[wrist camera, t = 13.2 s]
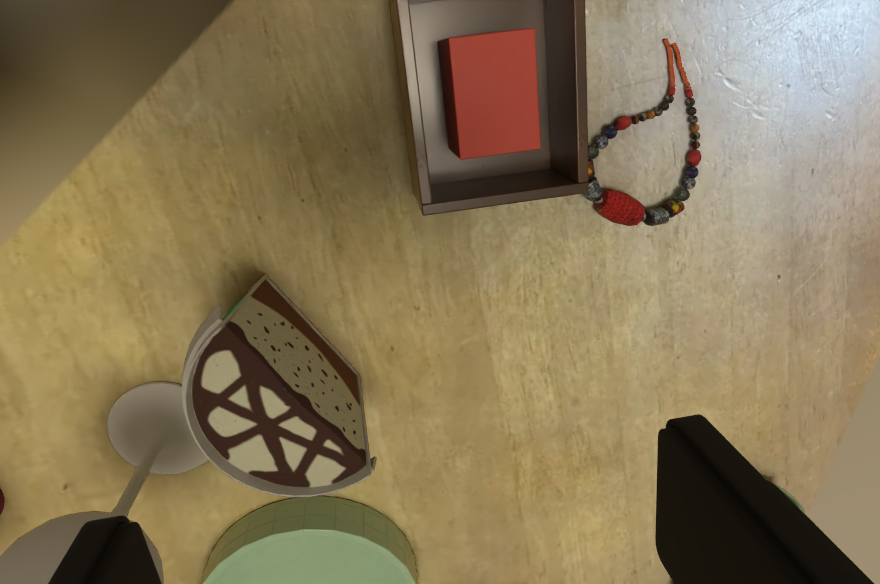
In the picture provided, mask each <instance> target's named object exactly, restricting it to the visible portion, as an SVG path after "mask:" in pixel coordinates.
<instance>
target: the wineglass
mask: <svg viewBox="0 0 880 584" xmlns="http://www.w3.org/2000/svg"><path fill="white" fill-rule="evenodd" d="M181 390H182V385H180V384H178V383H171V382H164V381H161V382H148V383H145V384H142V385H138V386H135V387H134V388H132V389H130V390H128V391H127V392H125V393H124V394H123V395H122V396H121V397H120V398H119V399H118V400H117V401H116V402H115V404H114V405H113V407H112V409H111V411H110V412H109V417H108V422H107V428H108V436H109V438H110V441H111V443H112V446H113V447H114V448H115V450H116V451H117V452H118V454H119V455H120V456H121V457H122V458H124V459H125V460H126V461H127V462H128V463H130V464H132V465H133V466H135V467H137V470H136V471H135V473H134V475H133V477H132V479H131V480H130V482H129V484H128V486H127V488H126V489H125V491H124V493H123V495H122V497H121V499H120V500H119V502H118V504H117V506H116V507H115V508H114V510H113V511H112V512H111V513H109V512H100V511H90V512H81V513H74V514H68V515H64V516H61V517H58V518H54V519H51V520H49V521H47V522H45V523H43V524H42V525H40V526H38V527H36V528H35V529H33V530H31V531H30V532H28V533H26V534H25V535H23V536H21V537H20V538H18V539H17V540H16V541H15V542H14V543H13V544H12V545H11V546H10V547H9V548H8V549H7V550H6V551H5V552H4V553H3V554H2V555H1V556H0V584H48V583H49V581H50V579H51V578H52V576H53V574H54V573H55V571H56V569H57V568H58V566H59V564H60V563H61V561H62V559H63V558H64V556H65V554H66V553H67V551H68V549H69V548H70V546H71V544H72V543H73V541H74V539H75V538H76V536H77V534H78V533H79V531H80V529H81V528H82V526H83V525H84V524H85V523H86V522H88V521H92V520H97V519H103V518H109V517H115V516H120V515H122V516H126V517H127V516H128V513H129V510H130V508H131V506H132V504H133V502H134V500H135V498H136V496H137V494H138V493H139V491H140V489H141V487H142V485H143V483H144V481H145V479H146V477H147V475H148V473H149V472H151V473H155V474H165V475H169V474H180V473H184V472H187V471H190V470H193V469H195V468H197V467H198V466H200V465H202V464H203V463H204V462H206V461H207V460H208V458H207V457H206V456H205V455H204V453H203V452H202V451H201V449H200V448H199V446H198V445H197V444H196V442H195V440H194V438H193V436H192V433H191V431H190V429H189V426H188V424H187V421H186V417H185V414H184V410H183V404H182V393H181ZM129 521H130V523H131V522H133V521H131V520H129ZM142 532H143V535H144V537H145V540H146V543H147V545H148V548H149V551H150V553H151V556H152V559H153V561H154V564H155V567H156V569H157V572H158V575H159V577H160V580H161V582H162V584H164V578H163V569H162V561H161V558H160V556H159V553H158V551H157V548H156V547H155V545H154V544H153V543H152V541H151V540H150V539H149V537H148V536H147V535H146V534H145V532H144V531H143V530H142Z"/></svg>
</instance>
